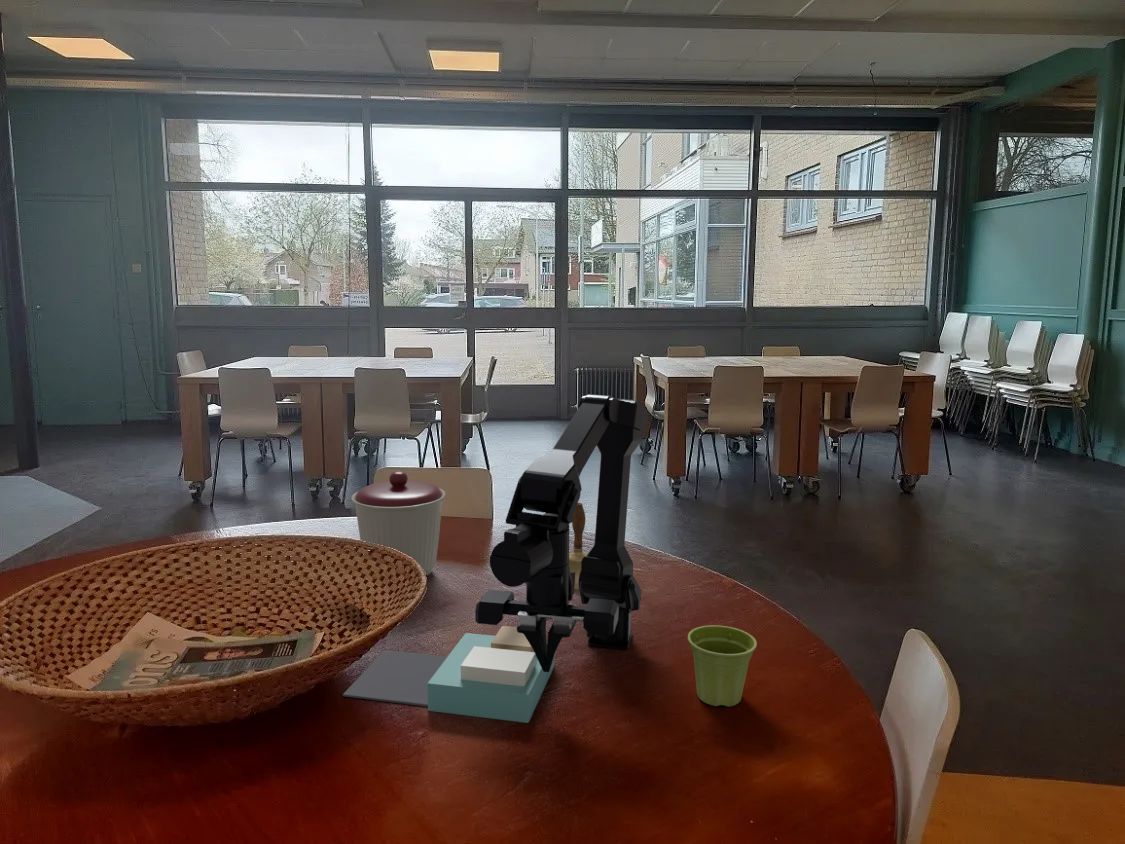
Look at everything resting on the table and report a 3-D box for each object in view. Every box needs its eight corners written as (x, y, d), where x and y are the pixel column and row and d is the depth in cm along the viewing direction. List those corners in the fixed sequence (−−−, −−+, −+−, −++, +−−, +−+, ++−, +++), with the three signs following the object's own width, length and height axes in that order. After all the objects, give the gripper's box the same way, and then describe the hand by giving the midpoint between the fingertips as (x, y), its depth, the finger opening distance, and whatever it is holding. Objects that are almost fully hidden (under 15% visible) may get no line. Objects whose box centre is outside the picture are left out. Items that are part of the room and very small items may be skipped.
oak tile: (540, 642, 118) (540, 629, 118) (531, 660, 112) (531, 647, 112) (502, 638, 119) (502, 625, 119) (490, 655, 113) (490, 643, 113)
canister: (335, 584, 151) (330, 477, 147) (387, 555, 168) (384, 458, 164) (417, 597, 145) (414, 486, 141) (462, 565, 161) (461, 466, 158)
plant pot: (710, 673, 117) (713, 619, 115) (766, 697, 110) (769, 639, 109) (672, 696, 110) (674, 638, 109) (728, 722, 104) (731, 661, 102)
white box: (535, 665, 110) (535, 652, 110) (524, 686, 105) (524, 672, 104) (474, 659, 112) (474, 646, 112) (460, 679, 106) (460, 665, 106)
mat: (463, 660, 120) (463, 658, 120) (430, 706, 107) (430, 704, 107) (385, 651, 123) (385, 649, 123) (342, 696, 110) (342, 694, 109)
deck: (554, 666, 119) (554, 641, 118) (528, 722, 103) (528, 694, 103) (466, 657, 121) (465, 633, 121) (428, 710, 106) (427, 683, 105)
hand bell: (606, 580, 154) (607, 501, 152) (584, 593, 147) (585, 511, 145) (570, 571, 159) (571, 495, 156) (547, 584, 152) (548, 504, 149)
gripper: (624, 547, 110) (622, 651, 113) (496, 538, 114) (497, 638, 117) (614, 575, 100) (611, 689, 102) (473, 564, 103) (474, 674, 106)
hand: (547, 670), depth 107 cm, fingers closed
